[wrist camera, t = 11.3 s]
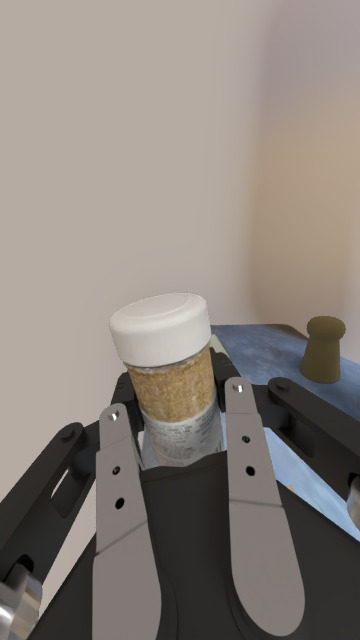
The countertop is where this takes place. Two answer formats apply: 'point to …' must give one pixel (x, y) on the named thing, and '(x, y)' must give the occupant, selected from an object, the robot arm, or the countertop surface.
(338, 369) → the cork
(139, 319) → the sprinkles bottle
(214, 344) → the green pad
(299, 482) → the countertop surface
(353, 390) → the countertop surface
